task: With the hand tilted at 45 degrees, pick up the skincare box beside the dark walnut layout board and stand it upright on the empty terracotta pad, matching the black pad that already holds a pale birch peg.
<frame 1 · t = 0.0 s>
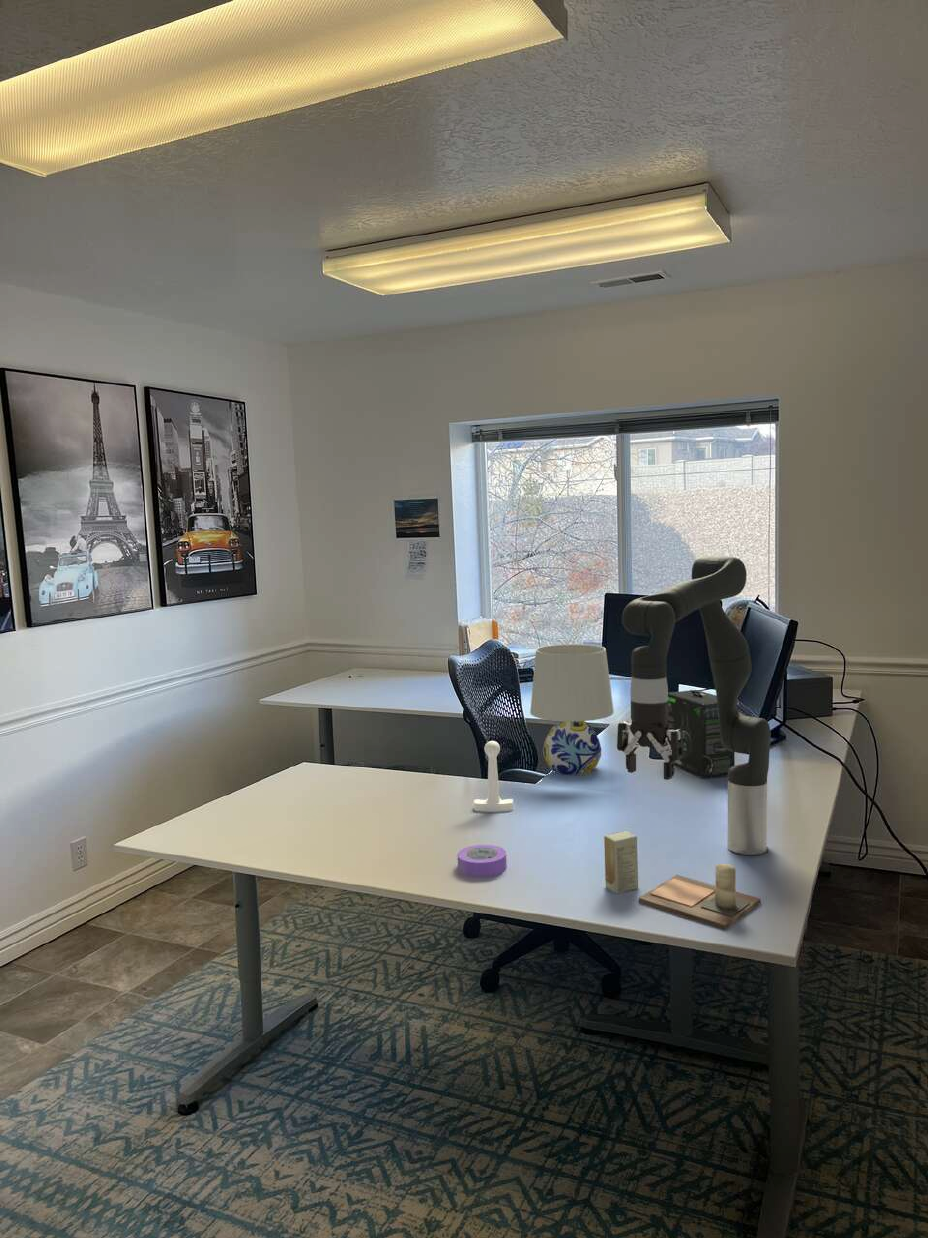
hand: (649, 775, 183), 29 cm above the table, tool pointing down, fingers open, 8 cm apart
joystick: (493, 808, 255), on the table
headset box: (699, 769, 288), on the table
skincare box: (621, 888, 198), on the table
layout board: (699, 902, 189), on the table
masking tape: (482, 869, 212), on the table
table lamp: (572, 770, 291), on the table
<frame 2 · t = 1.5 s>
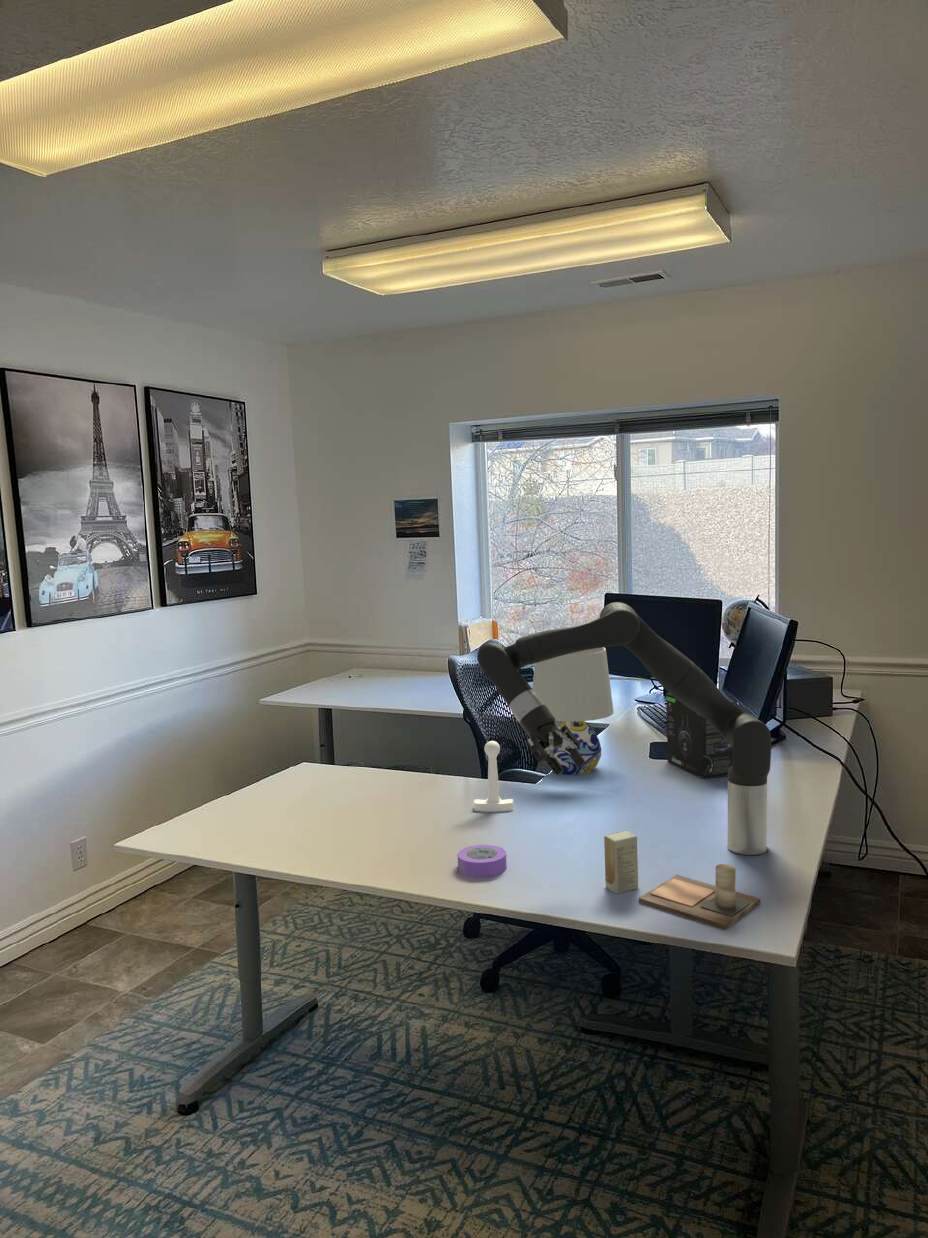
hand: (571, 769, 203), 25 cm above the table, tool tilted 45°, fingers open, 8 cm apart
nothing on the table moved.
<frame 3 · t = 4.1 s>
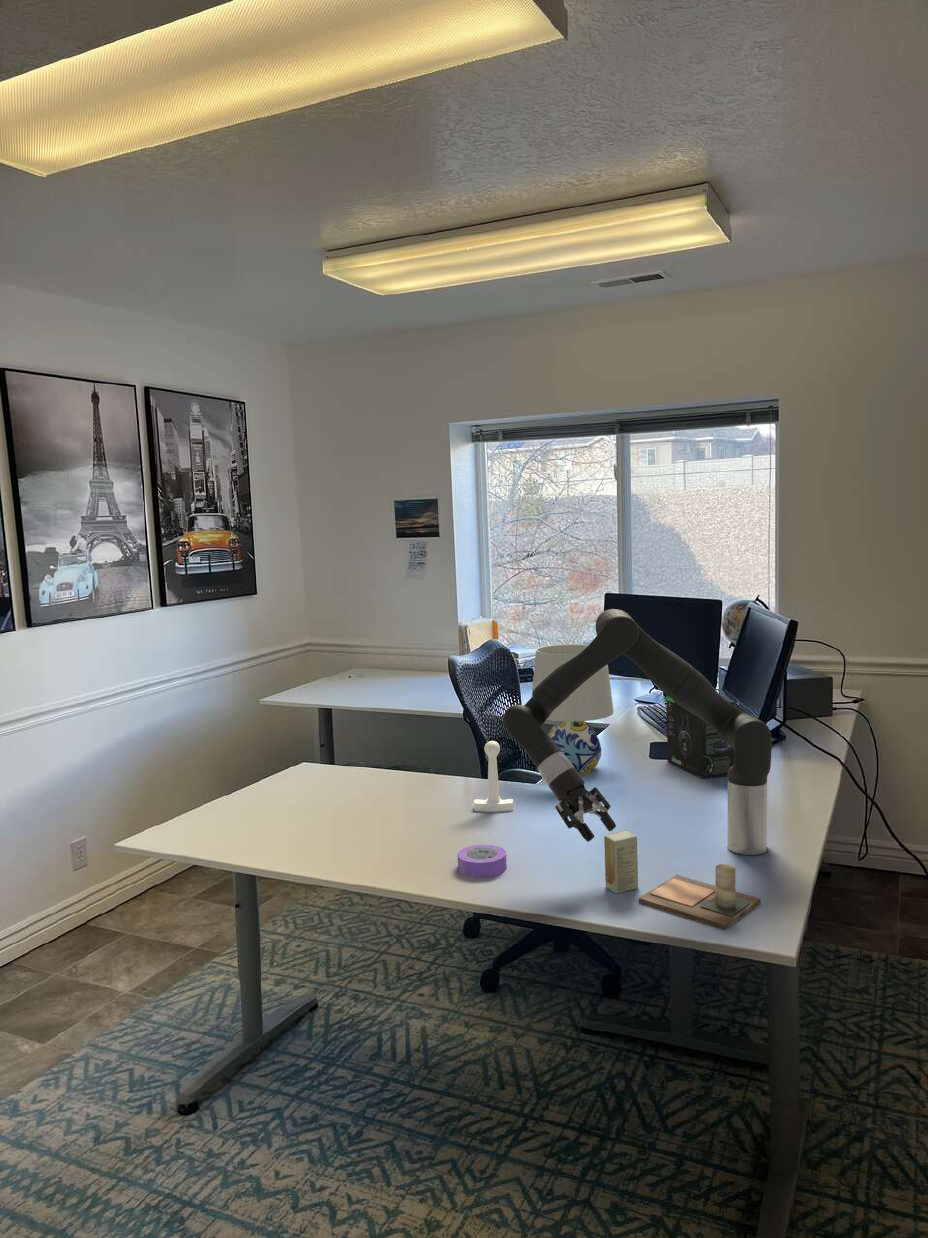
hand: (602, 834, 200), 11 cm above the table, tool tilted 45°, fingers open, 8 cm apart
nothing on the table moved.
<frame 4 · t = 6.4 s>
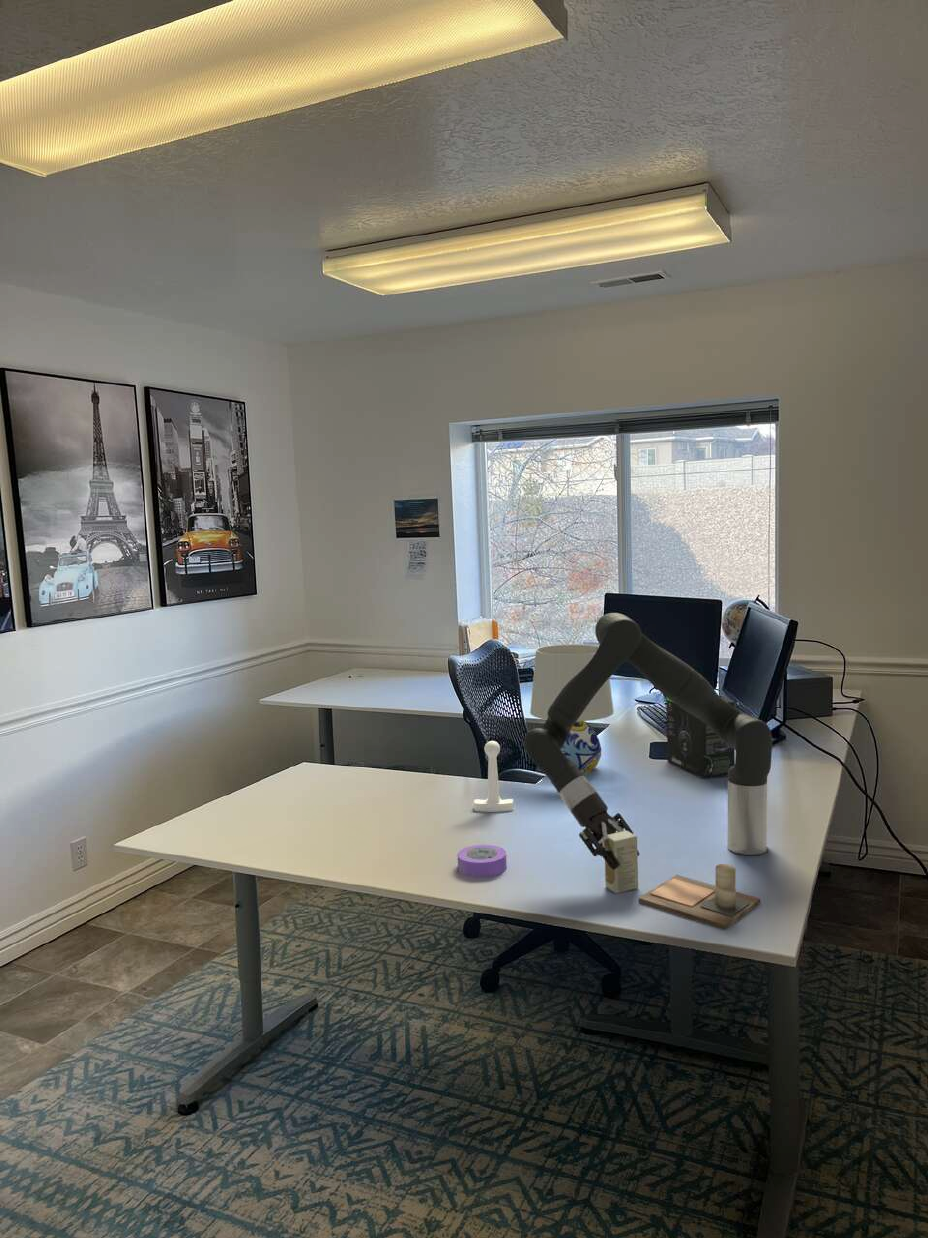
hand: (626, 862, 196), 6 cm above the table, tool tilted 45°, fingers closed on skincare box, 7 cm apart
skincare box: (621, 888, 198), on the table, touching gripper
everything else where it was.
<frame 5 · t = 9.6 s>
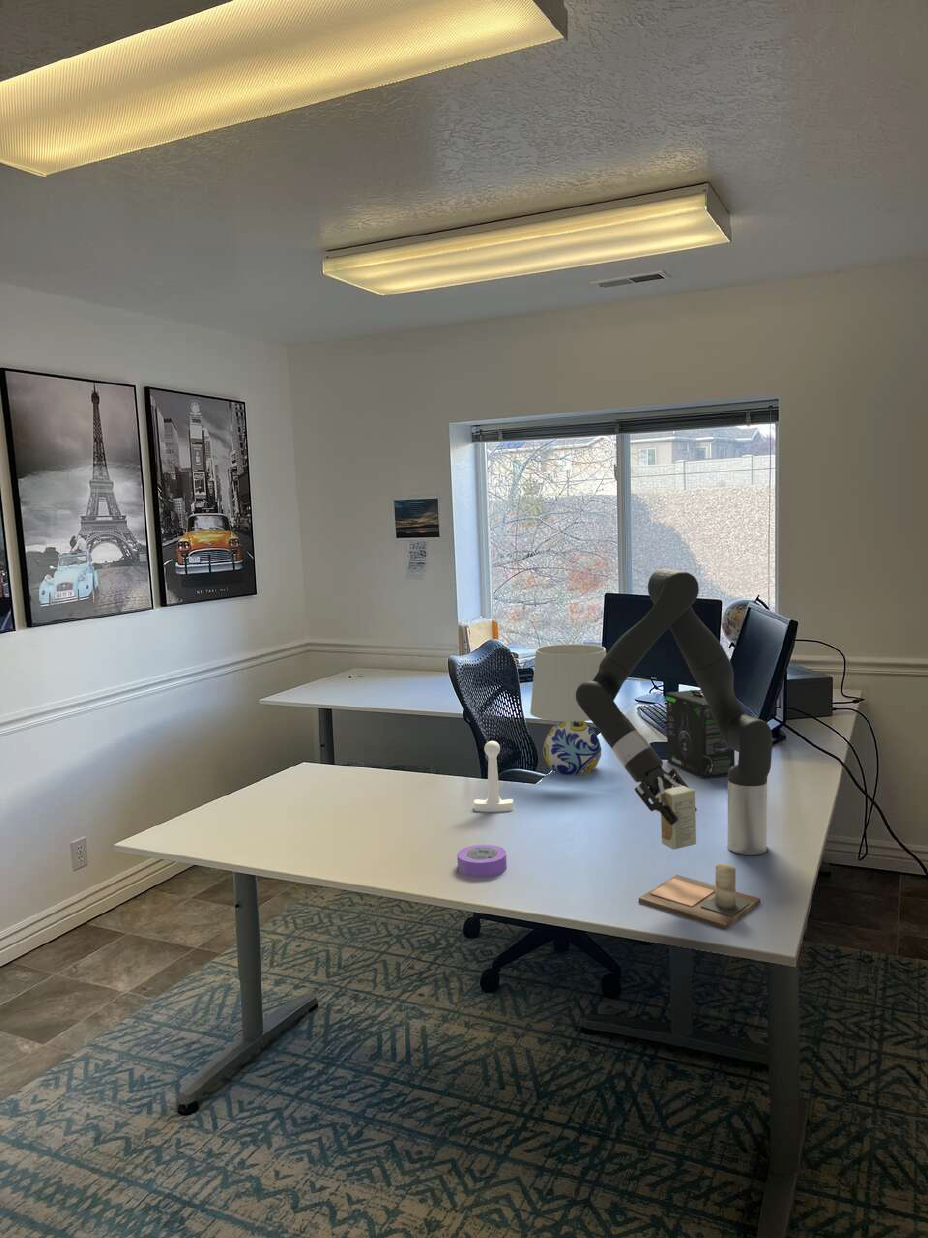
hand: (684, 817, 189), 18 cm above the table, tool tilted 45°, fingers closed on skincare box, 7 cm apart
skincare box: (678, 845, 191), point 12 cm above the table, touching gripper
everything else where it was.
when the fingers open (9 cm above the table, at t = 13.1 s): skincare box drops 1 cm, resting on layout board.
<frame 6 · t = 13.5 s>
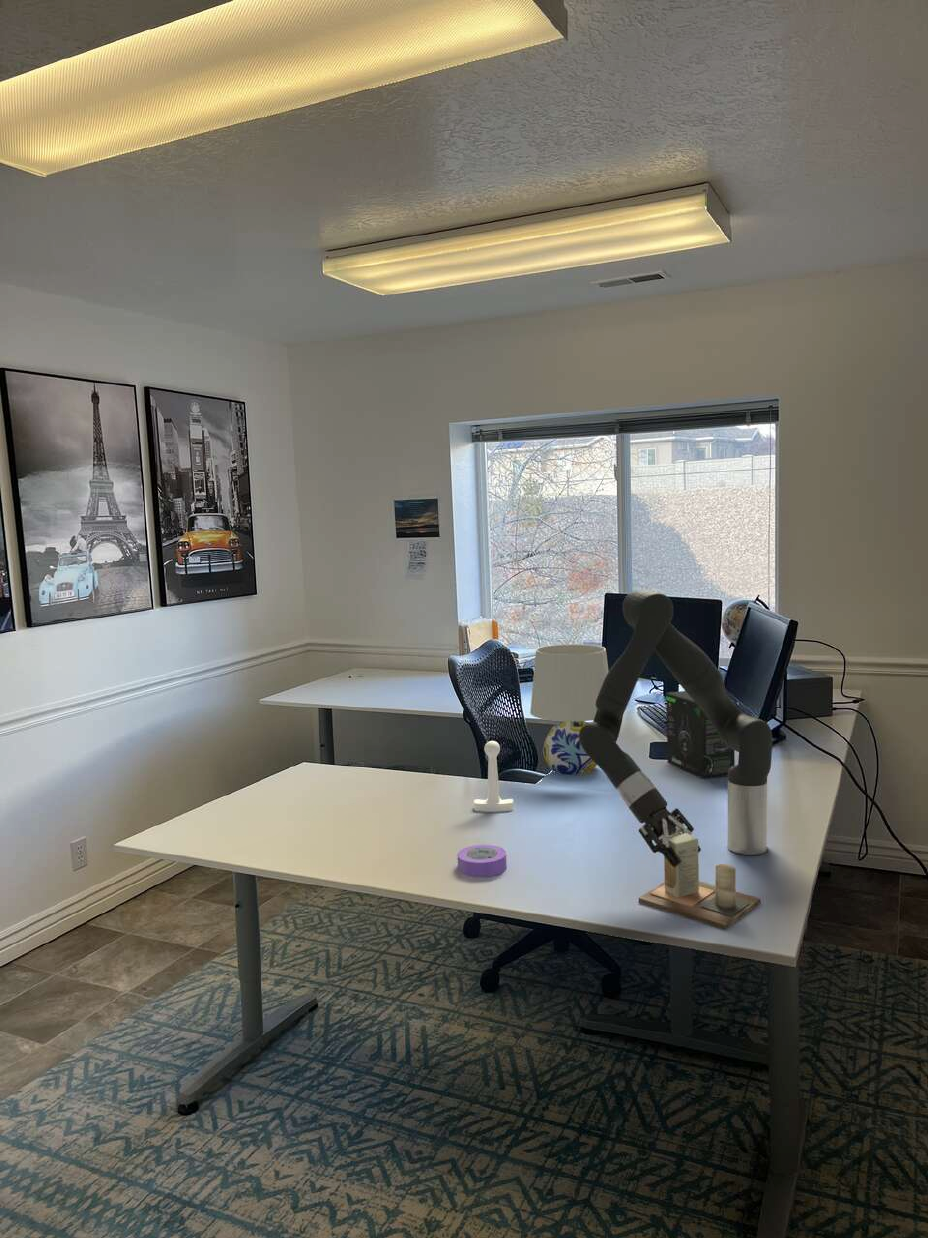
hand: (688, 859, 190), 9 cm above the table, tool tilted 45°, fingers open, 8 cm apart
skincare box: (681, 893, 192), point 1 cm above the table, touching layout board
everything else where it was.
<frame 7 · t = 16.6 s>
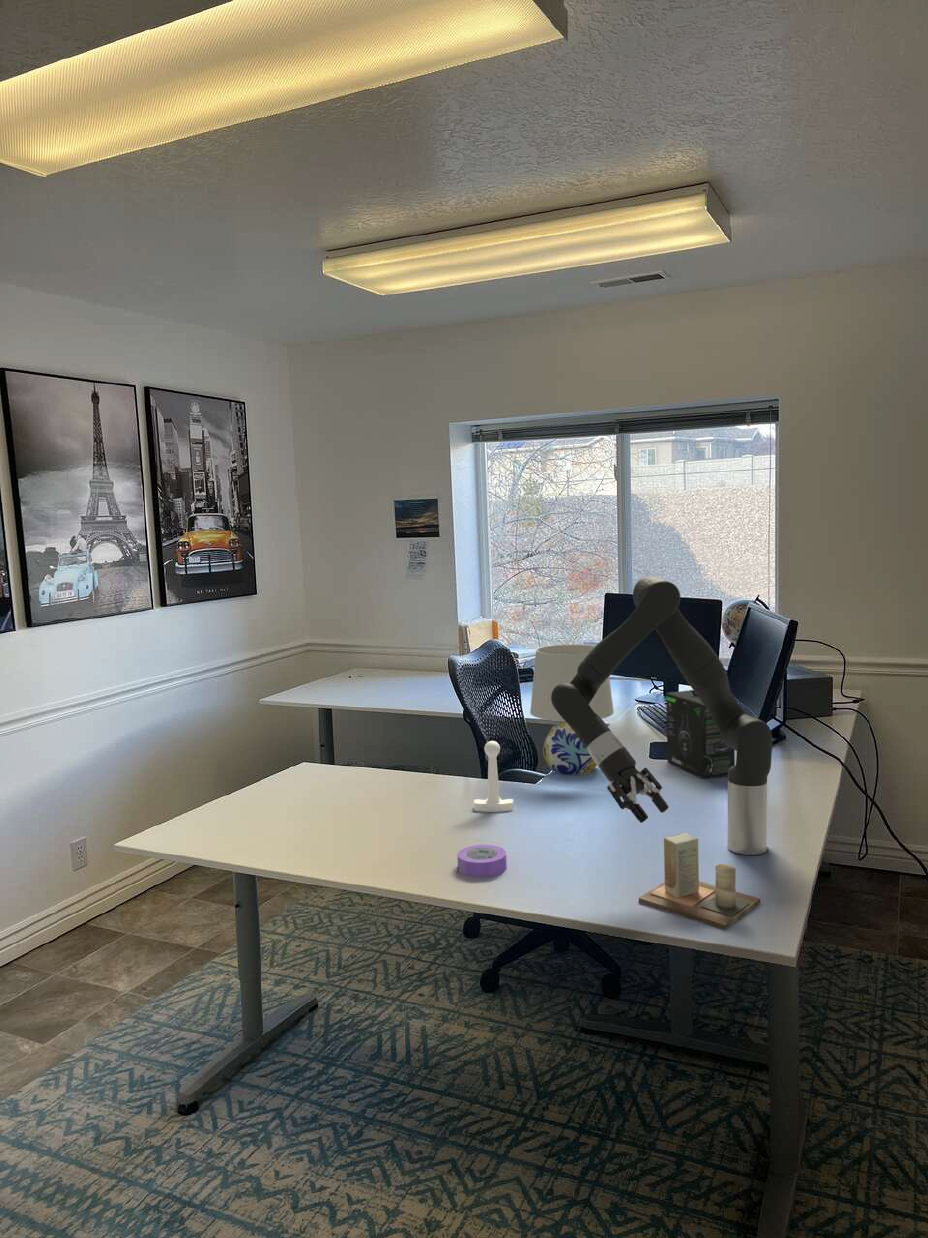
hand: (655, 815, 194), 17 cm above the table, tool tilted 45°, fingers open, 8 cm apart
nothing on the table moved.
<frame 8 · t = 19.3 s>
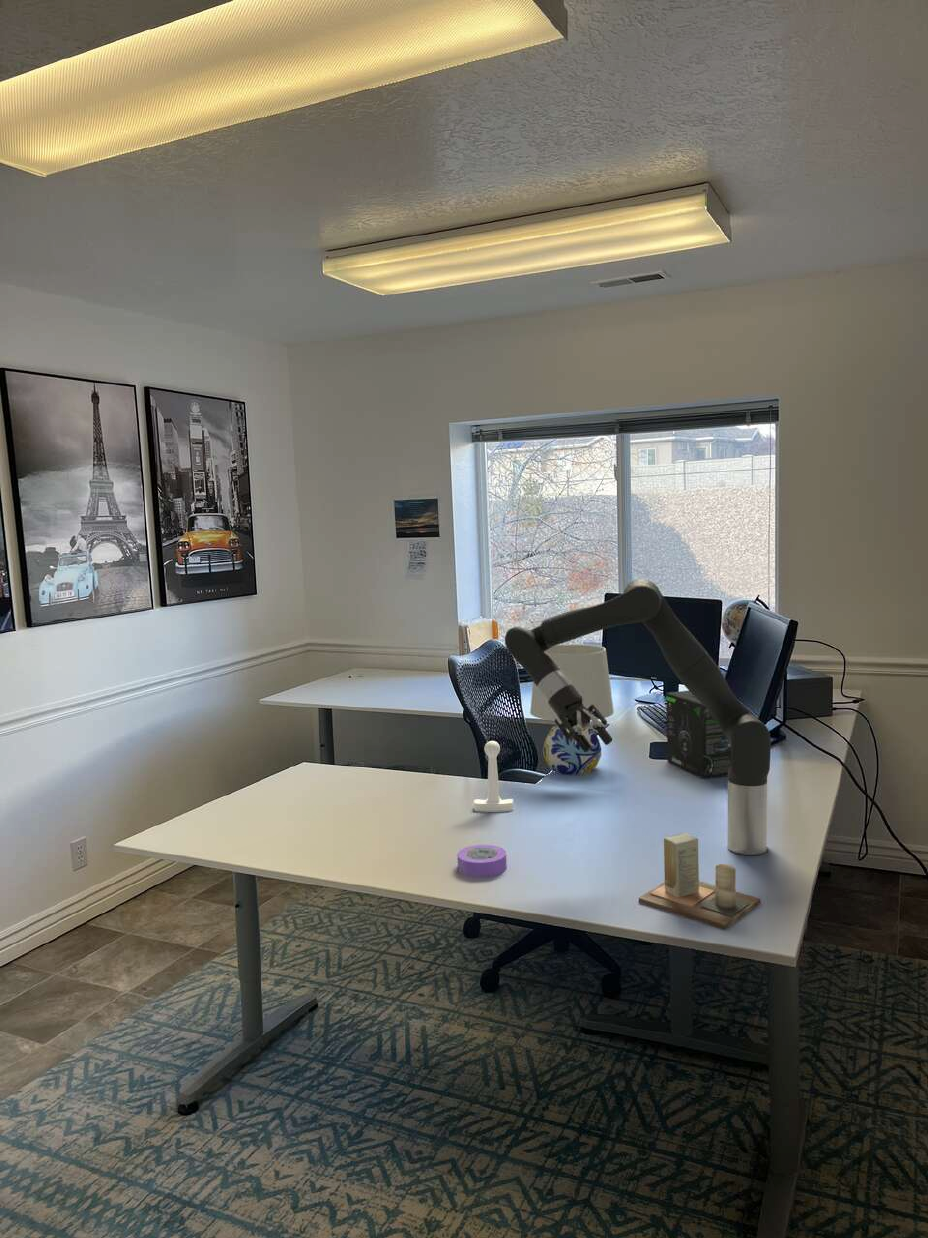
hand: (599, 746, 209), 29 cm above the table, tool tilted 45°, fingers open, 8 cm apart
nothing on the table moved.
at the end: skincare box inside the target area on the layout board (0.3 cm from its centre), point 1.1 cm above the layout board's base; skincare box tilted 0°; the gripper is holding nothing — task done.
